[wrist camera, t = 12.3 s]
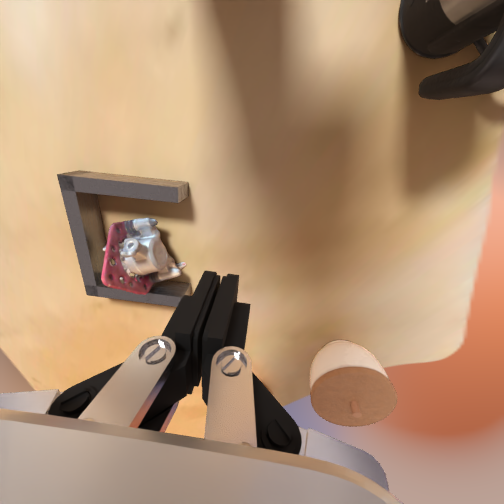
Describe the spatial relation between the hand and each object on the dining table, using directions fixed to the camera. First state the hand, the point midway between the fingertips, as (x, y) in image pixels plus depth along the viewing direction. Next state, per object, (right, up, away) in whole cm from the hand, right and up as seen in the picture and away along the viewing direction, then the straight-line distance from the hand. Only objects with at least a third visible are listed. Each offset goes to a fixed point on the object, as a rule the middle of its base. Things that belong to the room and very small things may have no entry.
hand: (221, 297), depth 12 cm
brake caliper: (-15, +3, +28) cm, 32 cm away
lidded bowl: (+18, -17, +34) cm, 42 cm away
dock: (-15, +4, +27) cm, 31 cm away
